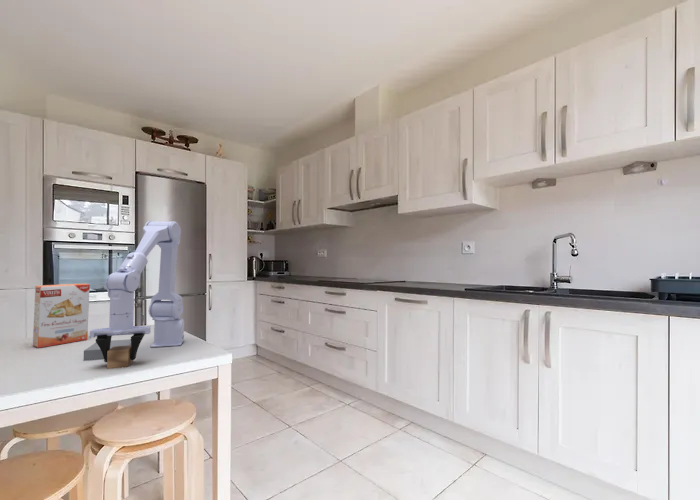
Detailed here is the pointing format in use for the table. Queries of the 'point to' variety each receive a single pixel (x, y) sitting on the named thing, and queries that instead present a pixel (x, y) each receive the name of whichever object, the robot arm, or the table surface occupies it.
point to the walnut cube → (119, 357)
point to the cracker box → (60, 314)
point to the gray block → (96, 353)
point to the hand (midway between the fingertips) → (120, 360)
